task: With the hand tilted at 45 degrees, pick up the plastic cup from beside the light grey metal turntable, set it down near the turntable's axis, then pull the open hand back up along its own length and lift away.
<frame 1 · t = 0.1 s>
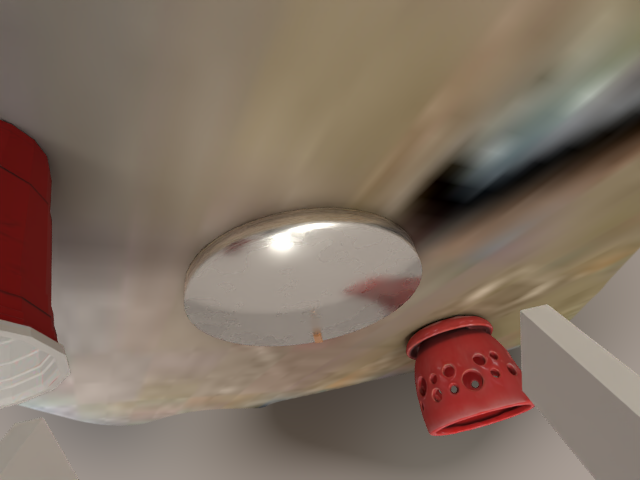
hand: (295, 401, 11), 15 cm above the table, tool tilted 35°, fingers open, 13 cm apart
turntable: (306, 292, 34), point 2 cm above the table, hinge at 0.0°
plant pot: (447, 327, 54), on the table
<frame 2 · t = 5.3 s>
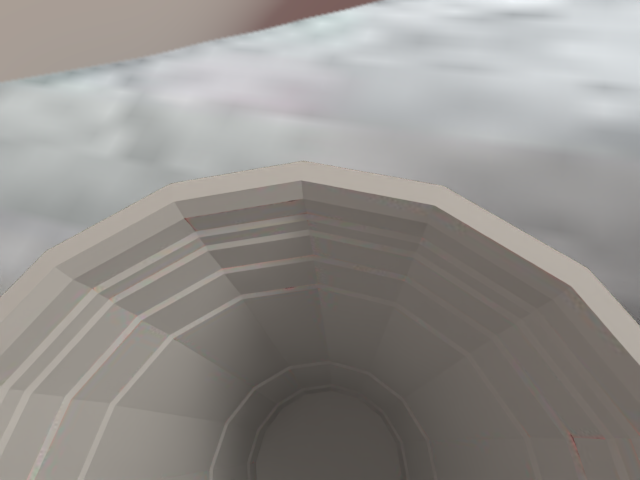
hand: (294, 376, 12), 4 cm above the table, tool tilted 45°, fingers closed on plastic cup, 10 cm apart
plastic cup: (325, 473, 15), on the table, touching gripper
when the fingers open (8 cm above the table, at t = 10.4 s): plastic cup moves 4 cm, resting on turntable.
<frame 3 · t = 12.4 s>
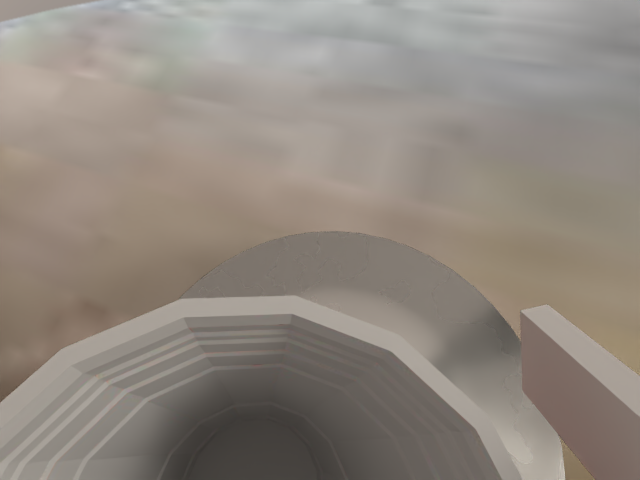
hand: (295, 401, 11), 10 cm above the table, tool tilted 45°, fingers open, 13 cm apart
turntable: (327, 432, 18), point 2 cm above the table, hinge at 0.0°, touching plastic cup
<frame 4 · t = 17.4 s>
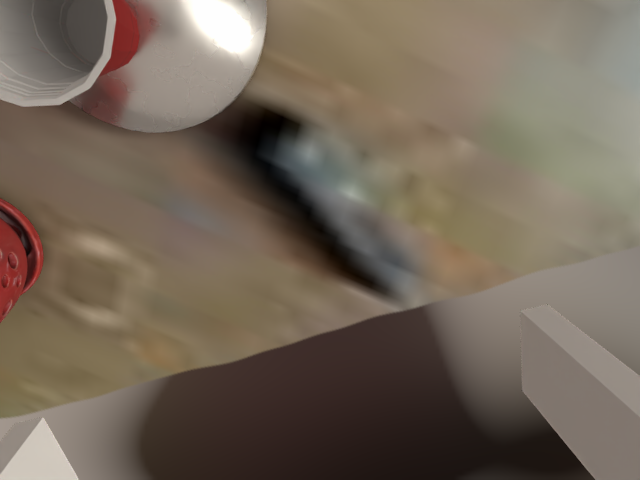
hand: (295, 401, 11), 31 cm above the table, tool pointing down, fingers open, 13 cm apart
turntable: (142, 4, 32), point 2 cm above the table, hinge at 0.0°, touching plastic cup
plastic cup: (103, 33, 32), point 2 cm above the table, touching turntable
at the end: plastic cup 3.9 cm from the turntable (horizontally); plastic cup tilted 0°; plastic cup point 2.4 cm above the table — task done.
